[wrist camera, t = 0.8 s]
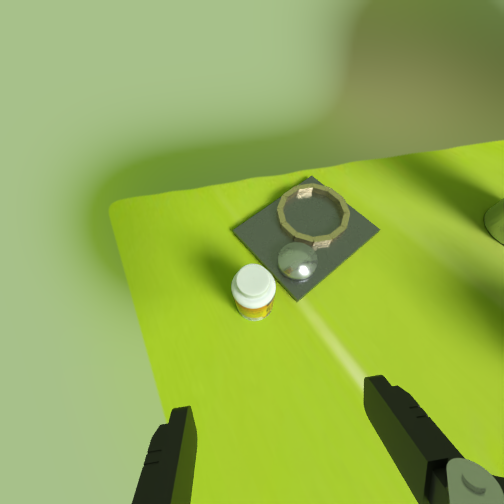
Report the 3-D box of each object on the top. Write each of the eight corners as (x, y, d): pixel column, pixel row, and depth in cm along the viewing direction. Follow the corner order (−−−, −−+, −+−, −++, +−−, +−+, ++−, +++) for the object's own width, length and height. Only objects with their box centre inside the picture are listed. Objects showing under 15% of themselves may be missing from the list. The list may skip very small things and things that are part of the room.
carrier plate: (310, 179, 48) (313, 169, 46) (377, 232, 42) (384, 224, 40) (233, 233, 43) (231, 225, 41) (297, 302, 37) (299, 297, 35)
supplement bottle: (270, 324, 36) (273, 306, 27) (233, 318, 37) (224, 298, 27) (275, 288, 38) (279, 260, 29) (240, 283, 39) (234, 254, 30)
